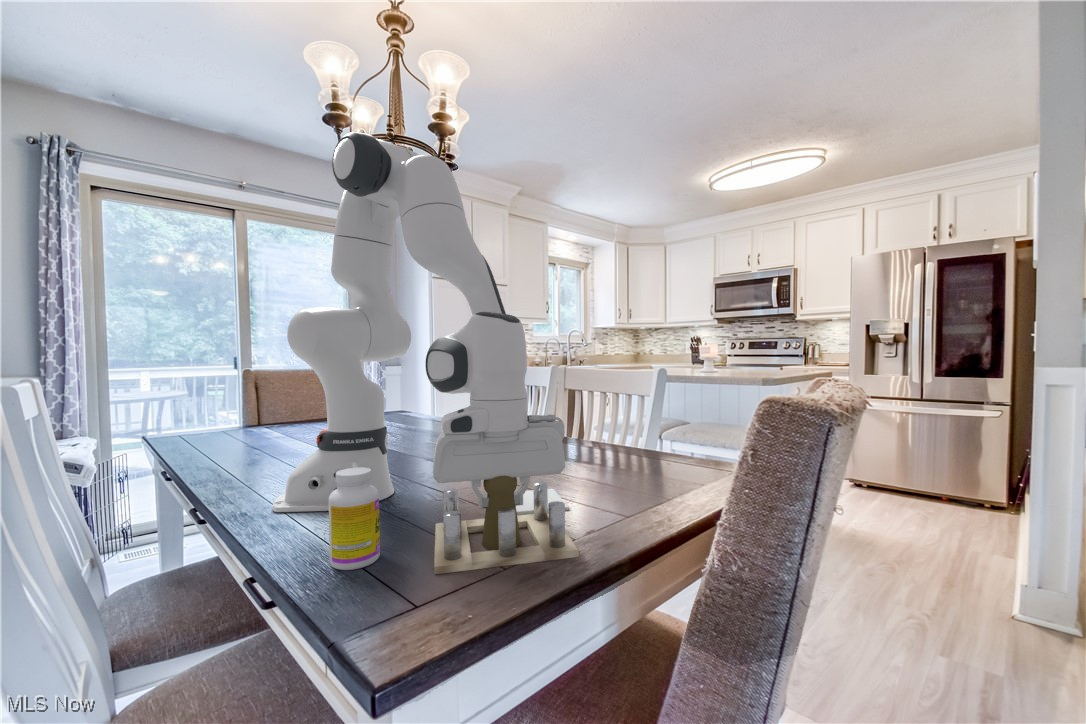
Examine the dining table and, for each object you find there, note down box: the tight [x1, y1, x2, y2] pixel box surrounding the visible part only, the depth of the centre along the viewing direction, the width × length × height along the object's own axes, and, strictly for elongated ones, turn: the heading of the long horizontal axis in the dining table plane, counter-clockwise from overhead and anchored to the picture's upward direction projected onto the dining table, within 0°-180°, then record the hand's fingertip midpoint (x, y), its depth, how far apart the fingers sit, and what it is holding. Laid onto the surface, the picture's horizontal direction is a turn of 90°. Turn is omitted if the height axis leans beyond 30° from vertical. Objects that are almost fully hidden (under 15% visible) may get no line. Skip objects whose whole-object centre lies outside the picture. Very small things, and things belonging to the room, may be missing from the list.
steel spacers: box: [442, 481, 566, 560], centre depth 70 cm, size 17×15×6 cm
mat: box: [516, 488, 570, 515], centre depth 88 cm, size 12×12×1 cm
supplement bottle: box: [328, 467, 381, 571], centre depth 64 cm, size 7×7×13 cm
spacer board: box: [433, 513, 580, 575], centre depth 70 cm, size 20×16×1 cm
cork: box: [481, 476, 522, 551], centre depth 70 cm, size 6×6×11 cm
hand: (500, 506), depth 70 cm, fingers closed on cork, 4 cm apart
